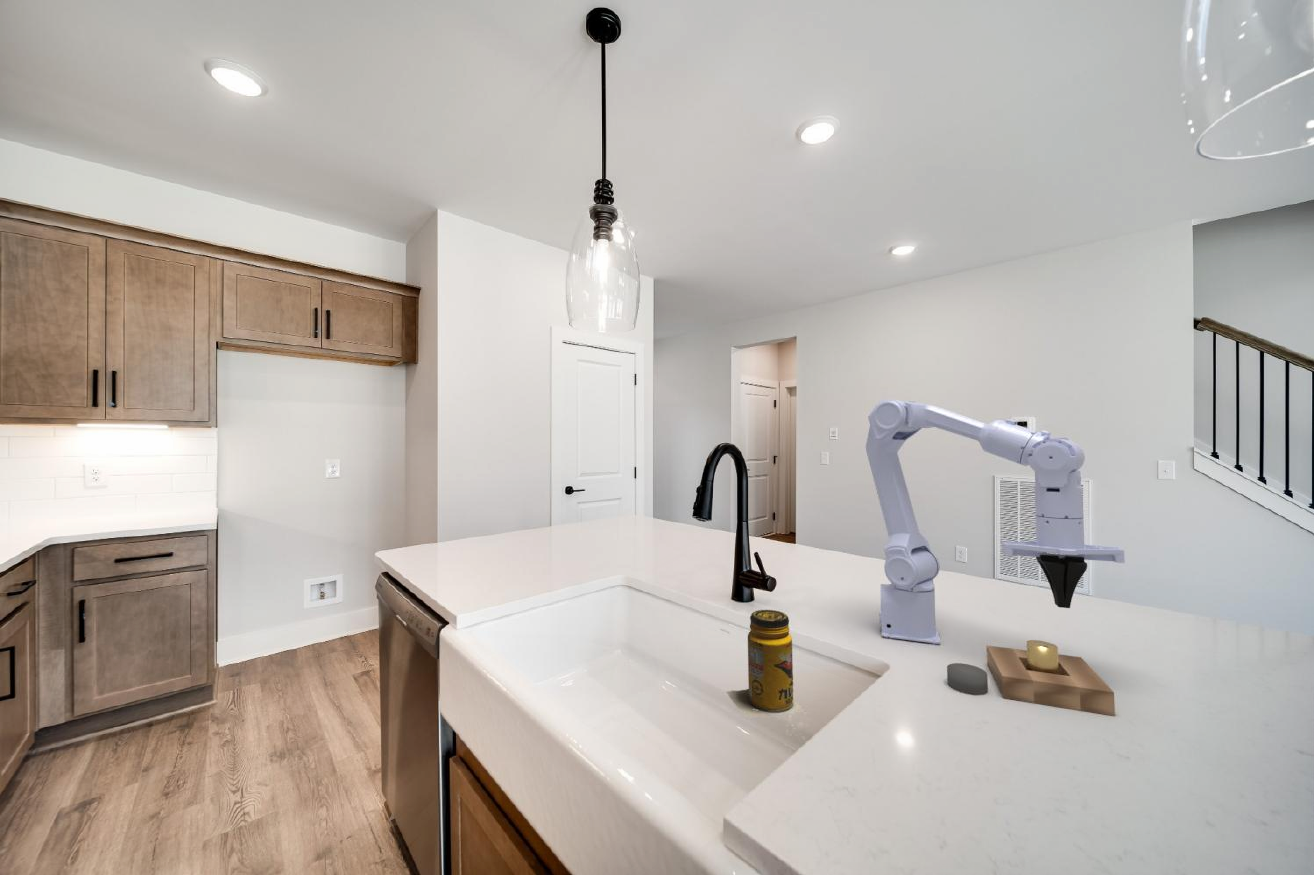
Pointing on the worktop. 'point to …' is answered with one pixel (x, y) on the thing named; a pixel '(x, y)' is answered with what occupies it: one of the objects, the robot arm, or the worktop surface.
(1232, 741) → the worktop surface
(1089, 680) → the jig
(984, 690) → the flat gray river rock
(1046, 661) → the brass cylinder plug
